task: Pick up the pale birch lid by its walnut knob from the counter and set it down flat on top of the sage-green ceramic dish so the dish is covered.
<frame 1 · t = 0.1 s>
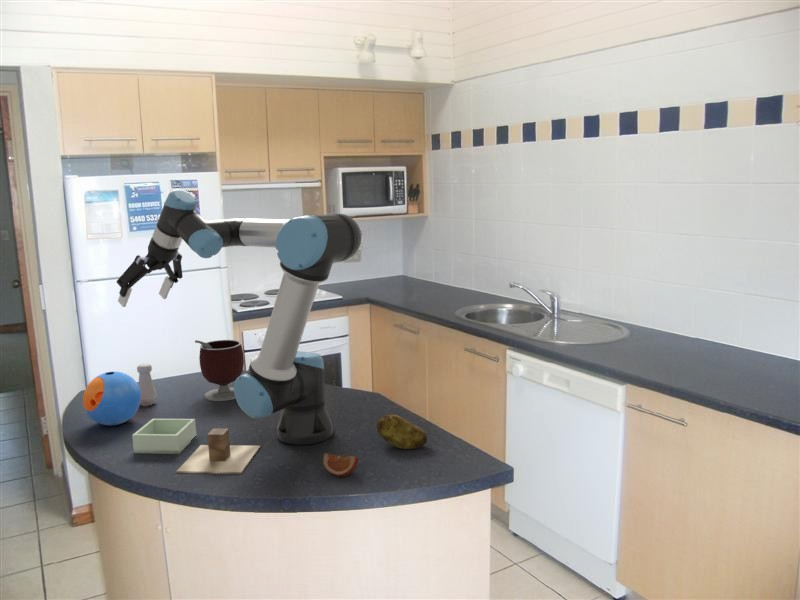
hand: (142, 300, 191), 36 cm above the countertop, tool tilted 35°, fingers open, 13 cm apart
fruit slice: (341, 474, 158), on the countertop
salt shaker: (147, 404, 211), on the countertop
lid: (220, 461, 168), on the countertop
dish: (166, 444, 178), on the countertop
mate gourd: (222, 396, 218), on the countertop
potato: (401, 446, 174), on the countertop
treat dispenser ball: (115, 424, 194), on the countertop
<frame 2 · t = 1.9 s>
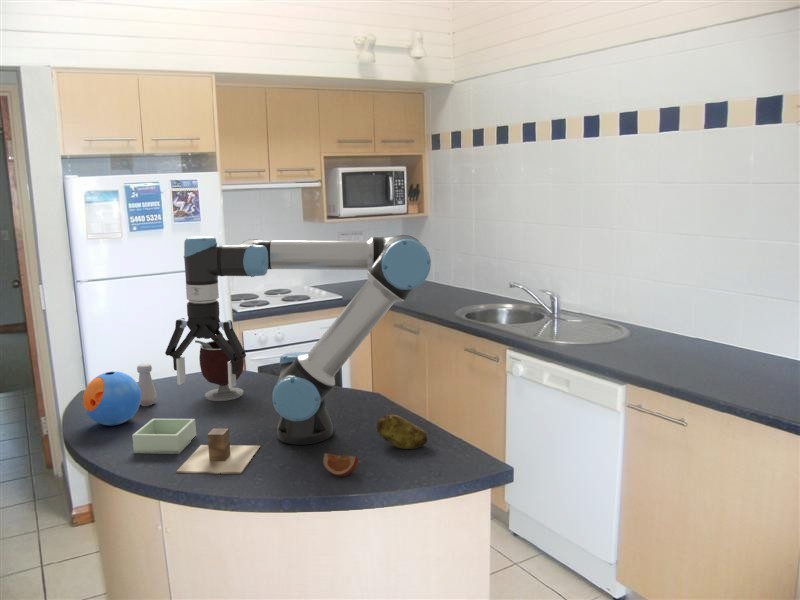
hand: (206, 384, 165), 19 cm above the countertop, tool pointing down, fingers open, 13 cm apart
nothing on the countertop moved.
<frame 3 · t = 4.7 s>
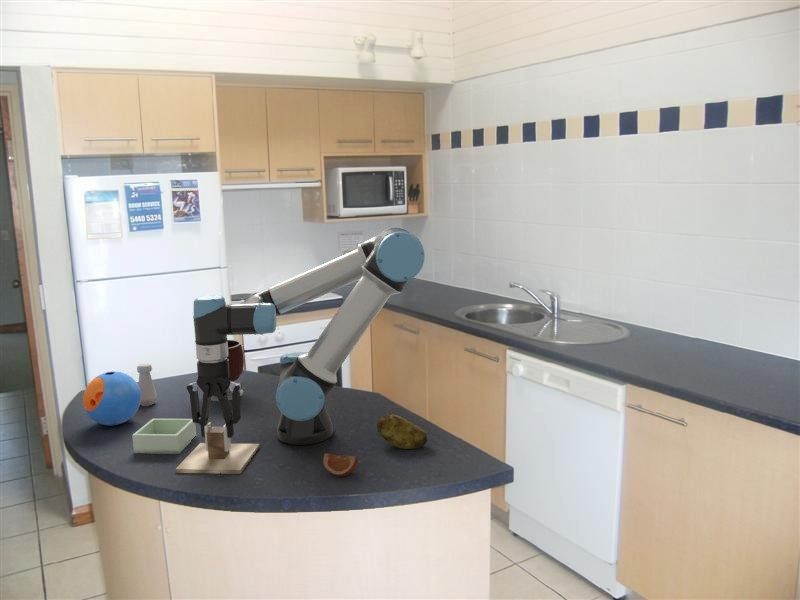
hand: (218, 448, 167), 3 cm above the countertop, tool pointing down, fingers closed on lid, 4 cm apart
lid: (219, 459, 167), on the countertop, touching gripper
everything else where it was.
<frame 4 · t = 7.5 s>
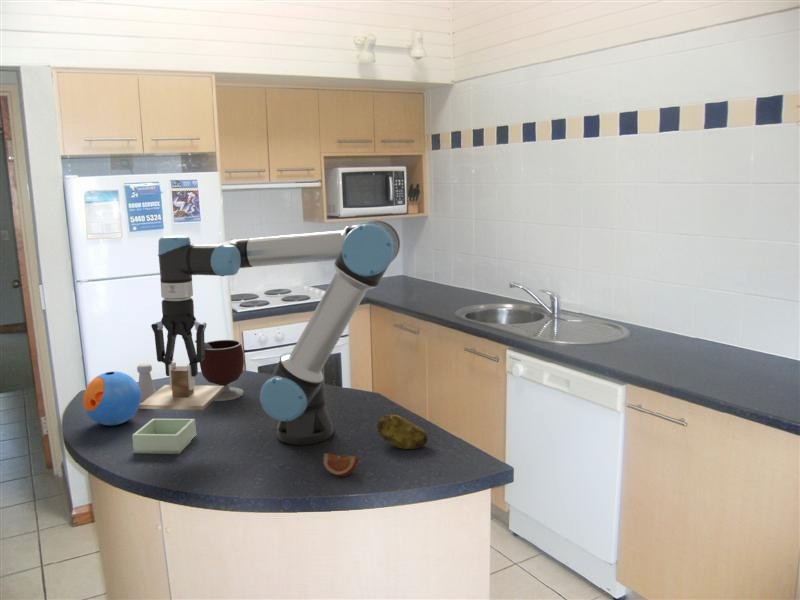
hand: (182, 388, 170), 17 cm above the countertop, tool pointing down, fingers closed on lid, 4 cm apart
lid: (183, 398, 170), point 14 cm above the countertop, touching gripper
everything else where it was.
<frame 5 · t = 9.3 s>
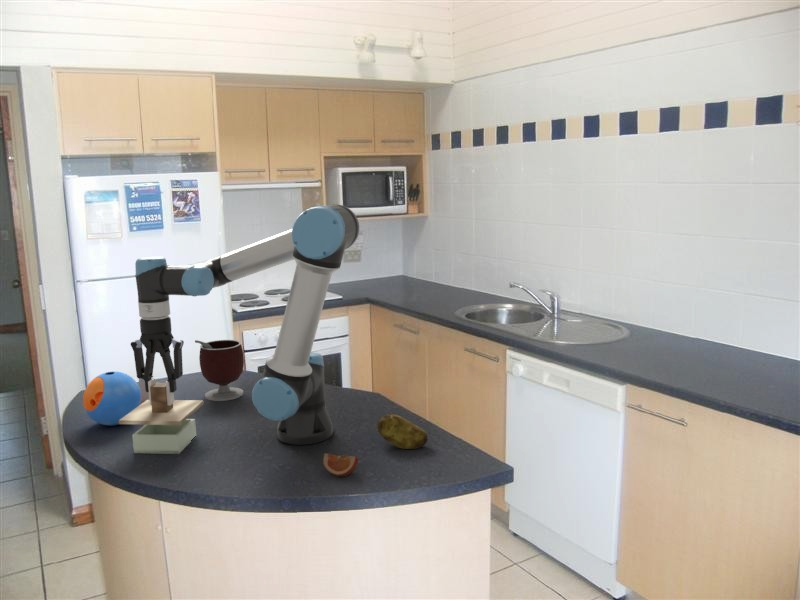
hand: (162, 403, 176), 11 cm above the countertop, tool pointing down, fingers closed on lid, 4 cm apart
lid: (163, 413, 176), point 9 cm above the countertop, touching gripper
everything else where it was.
when the fingers open (9 cm above the countertop, at t = 10.5 s): lid drops 1 cm, resting on dish.
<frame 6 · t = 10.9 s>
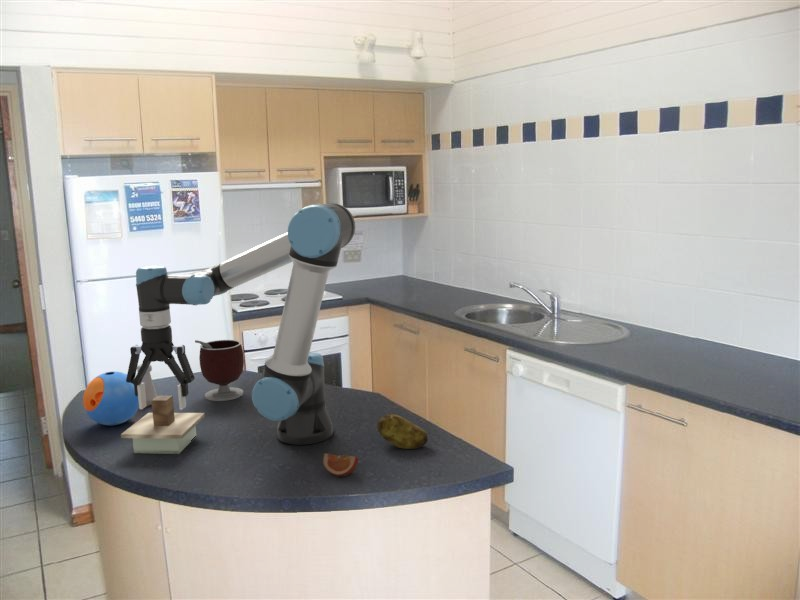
hand: (162, 407, 176), 10 cm above the countertop, tool pointing down, fingers open, 10 cm apart
lid: (164, 426, 177), point 5 cm above the countertop, touching dish
everything else where it was.
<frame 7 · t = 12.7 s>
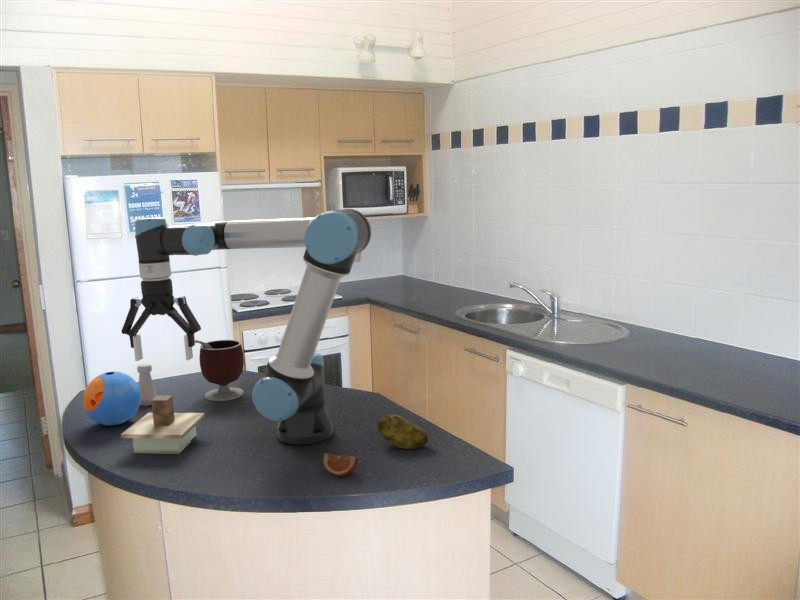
hand: (164, 359, 173), 24 cm above the countertop, tool pointing down, fingers open, 13 cm apart
nothing on the countertop moved.
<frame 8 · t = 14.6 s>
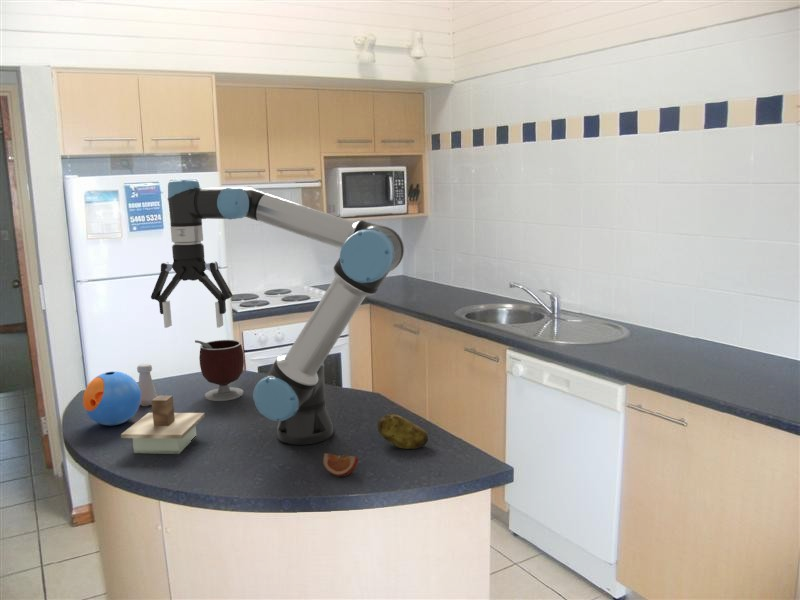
hand: (194, 326, 169), 33 cm above the countertop, tool pointing down, fingers open, 13 cm apart
nothing on the countertop moved.
at the end: lid 0.0 cm off-centre on the dish, point 5.0 cm above the dish's base; lid tilted 0°; the gripper is holding nothing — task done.
